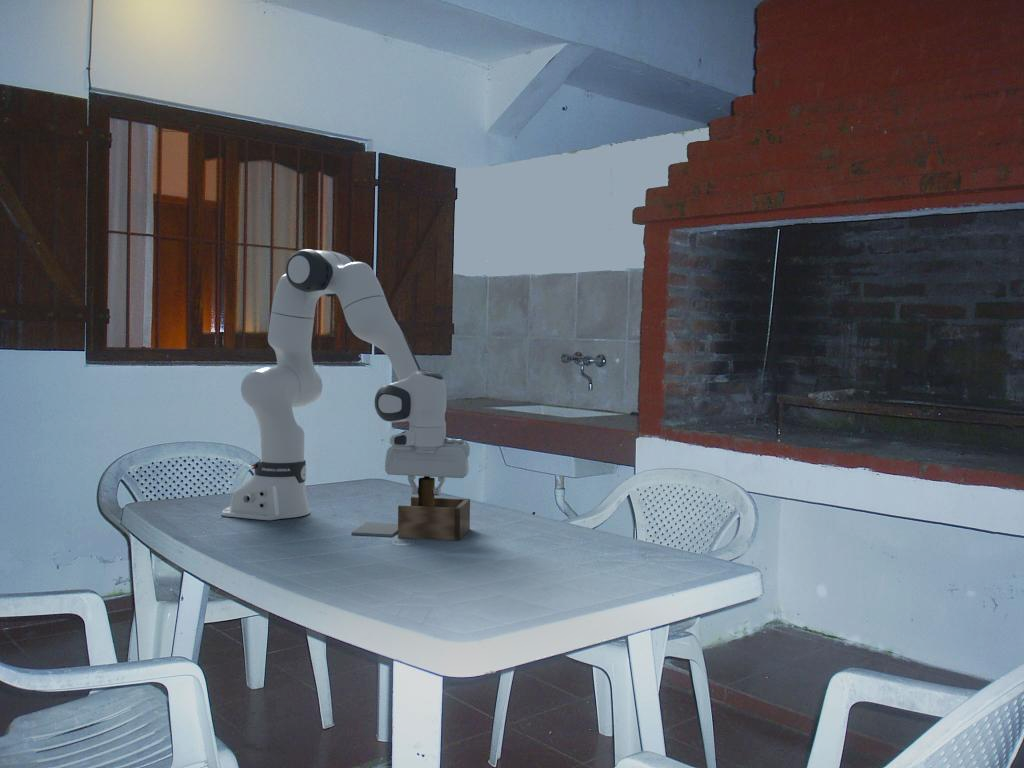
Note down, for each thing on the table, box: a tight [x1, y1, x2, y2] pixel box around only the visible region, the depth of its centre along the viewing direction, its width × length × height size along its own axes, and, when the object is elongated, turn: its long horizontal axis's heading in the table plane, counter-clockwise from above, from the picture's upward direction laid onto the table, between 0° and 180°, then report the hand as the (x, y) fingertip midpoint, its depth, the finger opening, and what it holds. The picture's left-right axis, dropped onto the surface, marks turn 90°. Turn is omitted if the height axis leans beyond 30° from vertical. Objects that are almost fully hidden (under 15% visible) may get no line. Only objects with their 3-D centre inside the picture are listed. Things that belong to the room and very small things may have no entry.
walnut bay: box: [397, 496, 471, 541], centre depth 214 cm, size 15×13×8 cm
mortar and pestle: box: [417, 476, 436, 507], centre depth 214 cm, size 7×6×18 cm
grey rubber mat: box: [351, 521, 398, 538], centre depth 216 cm, size 10×12×1 cm
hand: (426, 494), depth 214 cm, fingers closed on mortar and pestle, 4 cm apart
